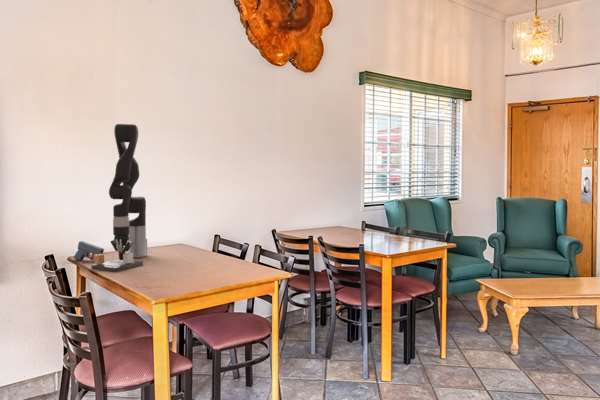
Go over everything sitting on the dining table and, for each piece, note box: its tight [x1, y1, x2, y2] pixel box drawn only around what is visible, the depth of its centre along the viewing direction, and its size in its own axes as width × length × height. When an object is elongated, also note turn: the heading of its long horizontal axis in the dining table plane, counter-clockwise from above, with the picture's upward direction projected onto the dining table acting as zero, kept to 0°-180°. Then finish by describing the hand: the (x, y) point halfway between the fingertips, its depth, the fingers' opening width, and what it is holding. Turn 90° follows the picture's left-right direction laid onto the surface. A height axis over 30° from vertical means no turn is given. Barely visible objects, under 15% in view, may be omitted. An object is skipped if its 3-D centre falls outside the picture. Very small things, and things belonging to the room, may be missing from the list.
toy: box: [73, 240, 105, 261], centre depth 256 cm, size 3×16×10 cm, turn 78°
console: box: [90, 258, 144, 273], centre depth 240 cm, size 18×16×2 cm
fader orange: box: [93, 253, 105, 264], centre depth 236 cm, size 4×3×5 cm
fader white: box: [123, 252, 134, 263], centre depth 239 cm, size 4×3×5 cm
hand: (122, 259), depth 240 cm, fingers closed
